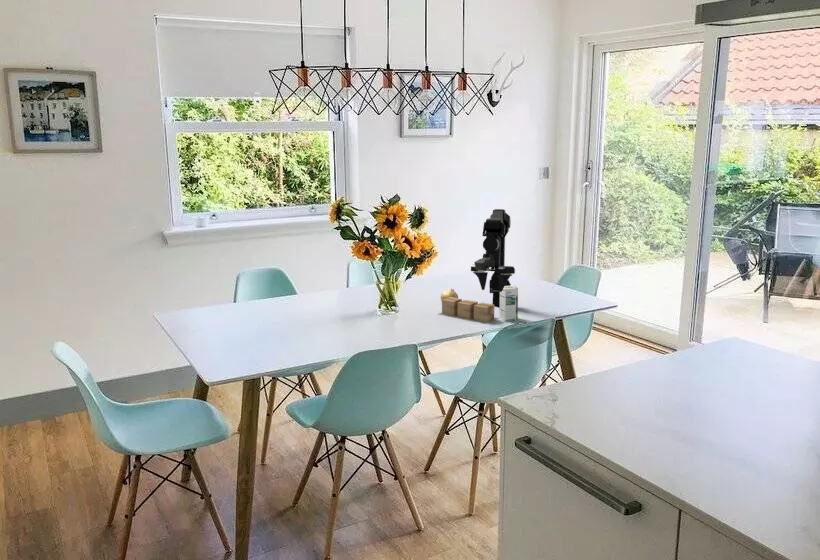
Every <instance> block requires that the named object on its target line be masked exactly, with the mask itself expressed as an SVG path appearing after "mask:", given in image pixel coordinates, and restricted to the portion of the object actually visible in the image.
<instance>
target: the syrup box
mask: <svg viewBox="0 0 820 560" xmlns="http://www.w3.org/2000/svg"><path fill="white" fill-rule="evenodd" d="M518 309H519V288H518V287H517V286H516V285H512V284H511V286H504V288H503V290H502V292H500V308H499V319H500V320H502V321H503V322H516V321H518V320H519V319H518V318H519V316H518V315H519V310H518Z"/></svg>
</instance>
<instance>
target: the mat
mask: <svg viewBox="0 0 820 560" xmlns="http://www.w3.org/2000/svg"><path fill="white" fill-rule="evenodd" d="M438 315H439V316H443V317H449V318H454V319H458V320H465V321H470V322H475V323H479V324H485V325H486V324H488V323H491V322H494V321H496V320H498V319H500V317H495V316H494V319H493V320H490V321H488V322H483V321H477V320H474V317H473V318H471V319H467V318H462V317H458V314H457V315H455V316H452V315H447V314H442V312H439V313H437V316H438Z"/></svg>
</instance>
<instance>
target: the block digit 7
mask: <svg viewBox="0 0 820 560" xmlns="http://www.w3.org/2000/svg"><path fill="white" fill-rule="evenodd" d="M494 317H495V307H494V305H493V303H485V302H478V304H477V305H474V320H477V321H483V322H488V321H490V320H493V319H494Z"/></svg>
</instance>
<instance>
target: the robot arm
mask: <svg viewBox="0 0 820 560" xmlns="http://www.w3.org/2000/svg"><path fill="white" fill-rule="evenodd" d="M510 228H511V216H510V214H508V213H507V212H506V209H503V208H499V209H498V208H494V209H493V210H492V213H491V214H490V216H489V218H486V220H485V221H484V222H483V230H482V237H485V238H484V240H483V242H482V248H483V250H484V251H485V253H483V254H482V258H479V259H477V260H475V261H474V262H473V263H474V264H471V266H470V272H472V273H473V275H475V276H476V277H477V278H478V282H479V284H480V288H481V290H482V291H485V289H486V285H487V279H488V272H493V273H492V275H491V277H490V279H489V284H488V285H489V294H492V304H493V305H494V308H495V307H496V308H498V309H500V292H502V290H503V288H504V286H512V283H511V282H510V280H509V279H510V277H512V276H513V275H515V273H516V269H515V267H514V266H511V265H505V264H506V263H505V262H506V260H505V259H506V257H505V255H506V254H505V253H506V236H507V235H508V233H509V232H510Z"/></svg>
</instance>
